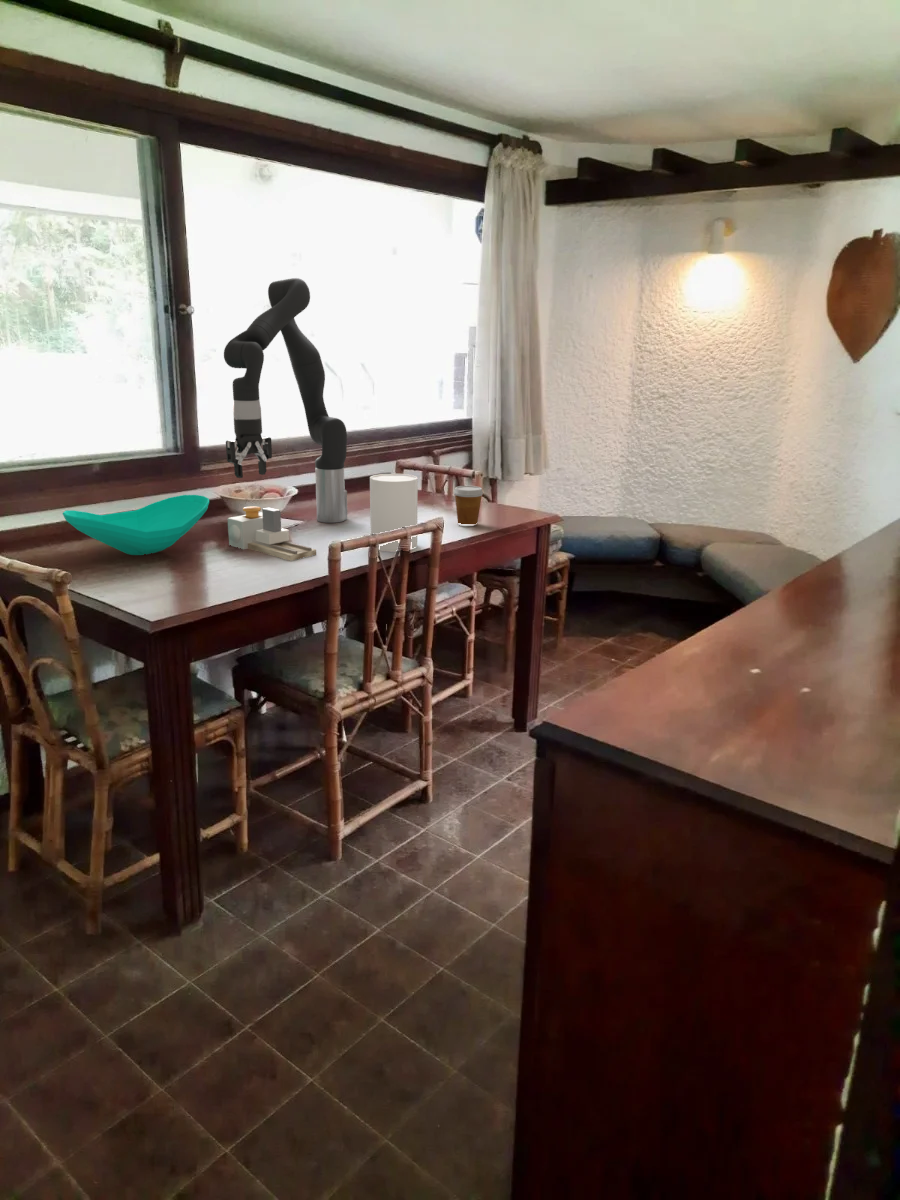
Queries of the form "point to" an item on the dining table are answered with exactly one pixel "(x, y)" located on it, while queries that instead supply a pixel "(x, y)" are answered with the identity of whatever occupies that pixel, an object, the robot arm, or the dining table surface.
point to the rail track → (283, 549)
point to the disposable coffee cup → (468, 503)
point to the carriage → (272, 528)
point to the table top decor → (142, 524)
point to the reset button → (252, 512)
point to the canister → (393, 504)
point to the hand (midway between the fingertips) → (250, 475)
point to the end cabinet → (243, 530)
